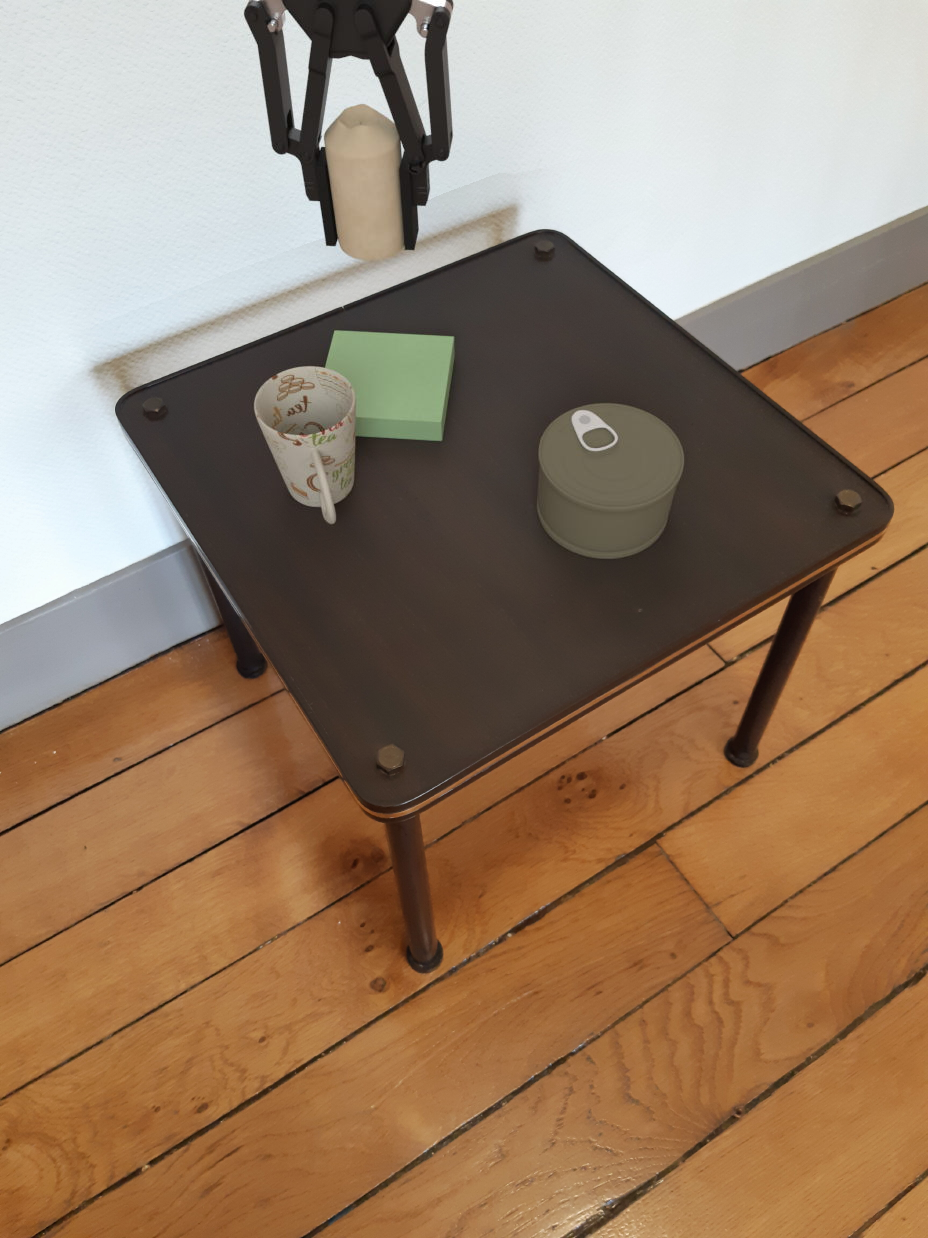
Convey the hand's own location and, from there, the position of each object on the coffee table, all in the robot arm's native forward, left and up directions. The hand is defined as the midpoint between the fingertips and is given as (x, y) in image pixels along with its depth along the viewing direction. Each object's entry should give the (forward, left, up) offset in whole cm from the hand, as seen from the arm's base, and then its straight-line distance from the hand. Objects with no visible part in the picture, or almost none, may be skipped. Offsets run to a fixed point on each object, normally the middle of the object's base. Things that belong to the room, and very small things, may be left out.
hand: (372, 237), depth 75 cm
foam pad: (-1, +3, -19) cm, 19 cm away
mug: (-4, -11, -19) cm, 23 cm away
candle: (0, 0, -1) cm, 1 cm away
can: (+20, -10, -19) cm, 30 cm away
